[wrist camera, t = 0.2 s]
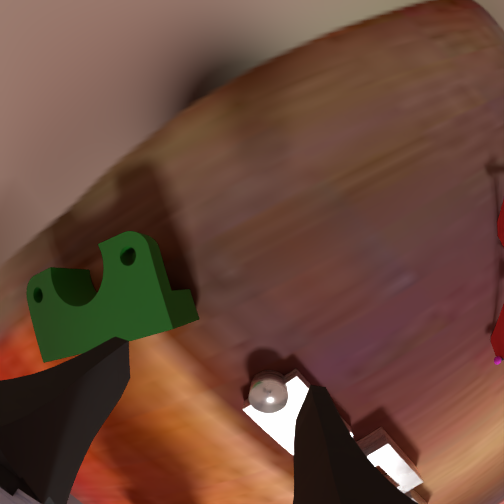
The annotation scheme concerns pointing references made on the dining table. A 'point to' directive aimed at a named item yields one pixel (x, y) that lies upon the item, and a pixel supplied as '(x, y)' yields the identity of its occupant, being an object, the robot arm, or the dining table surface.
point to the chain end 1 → (289, 408)
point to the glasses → (500, 338)
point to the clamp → (107, 300)
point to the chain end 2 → (395, 466)
